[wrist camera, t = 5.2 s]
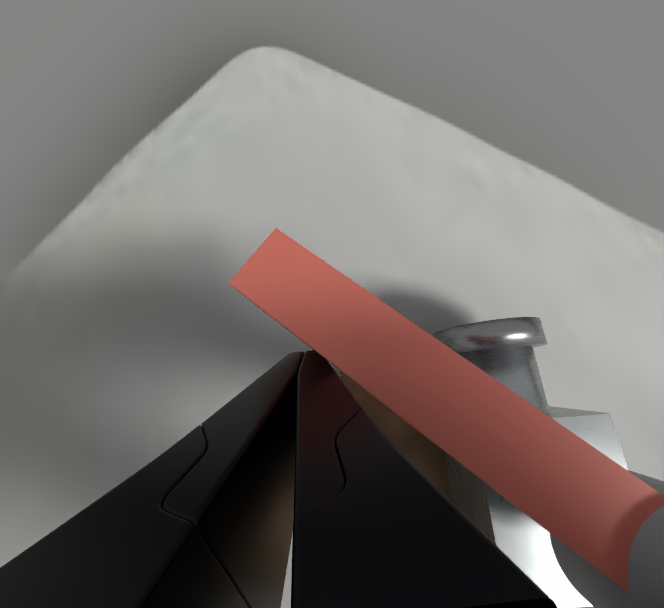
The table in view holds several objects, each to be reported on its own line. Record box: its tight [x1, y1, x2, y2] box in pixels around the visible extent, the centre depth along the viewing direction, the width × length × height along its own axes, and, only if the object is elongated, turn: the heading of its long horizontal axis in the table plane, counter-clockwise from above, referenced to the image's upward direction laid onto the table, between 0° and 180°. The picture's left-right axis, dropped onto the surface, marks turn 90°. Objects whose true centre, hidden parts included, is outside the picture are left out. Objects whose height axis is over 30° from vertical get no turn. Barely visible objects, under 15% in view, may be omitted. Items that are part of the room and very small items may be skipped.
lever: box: [229, 228, 664, 608], centre depth 7 cm, size 3×13×2 cm, turn 53°
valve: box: [341, 317, 628, 608], centre depth 11 cm, size 12×9×7 cm
